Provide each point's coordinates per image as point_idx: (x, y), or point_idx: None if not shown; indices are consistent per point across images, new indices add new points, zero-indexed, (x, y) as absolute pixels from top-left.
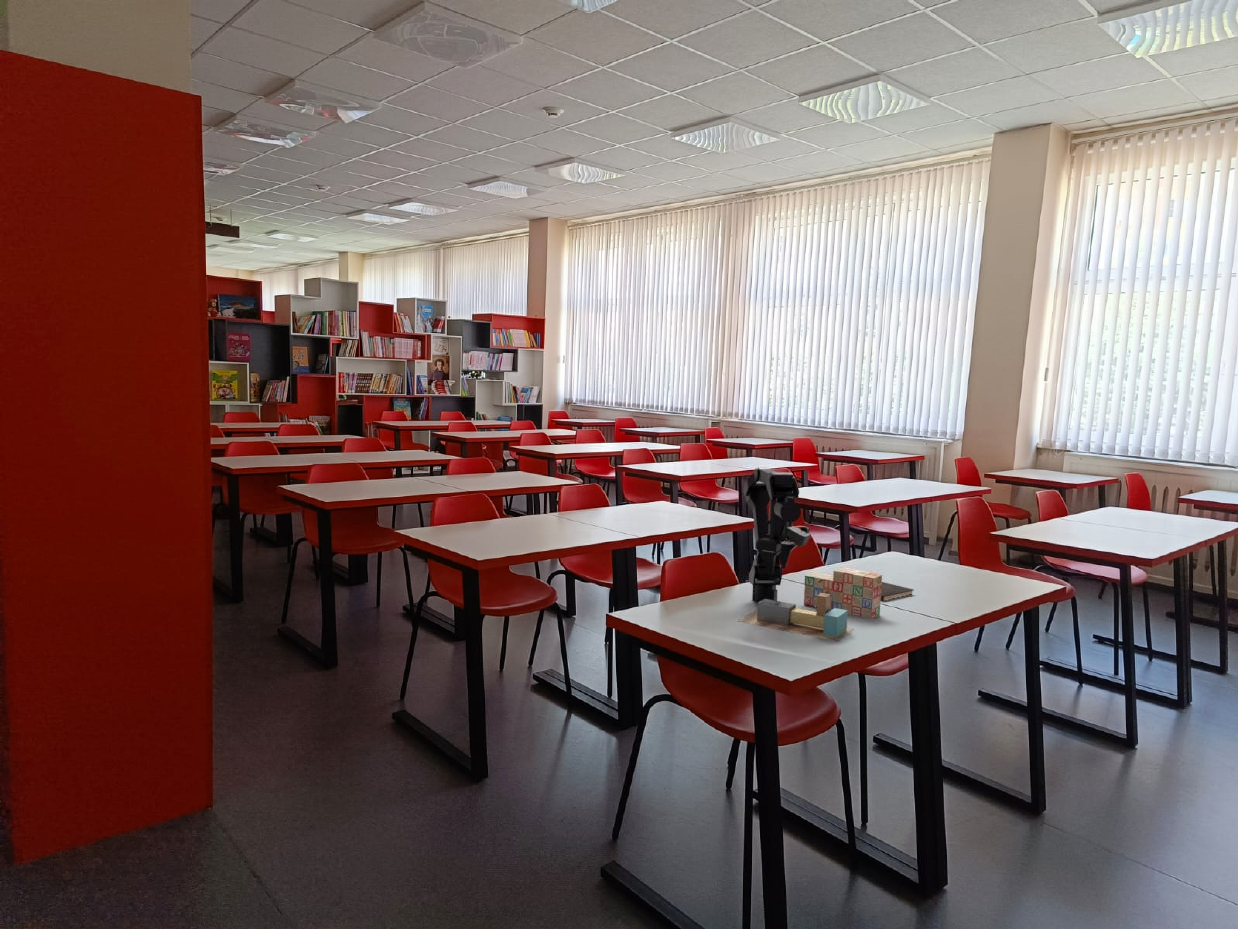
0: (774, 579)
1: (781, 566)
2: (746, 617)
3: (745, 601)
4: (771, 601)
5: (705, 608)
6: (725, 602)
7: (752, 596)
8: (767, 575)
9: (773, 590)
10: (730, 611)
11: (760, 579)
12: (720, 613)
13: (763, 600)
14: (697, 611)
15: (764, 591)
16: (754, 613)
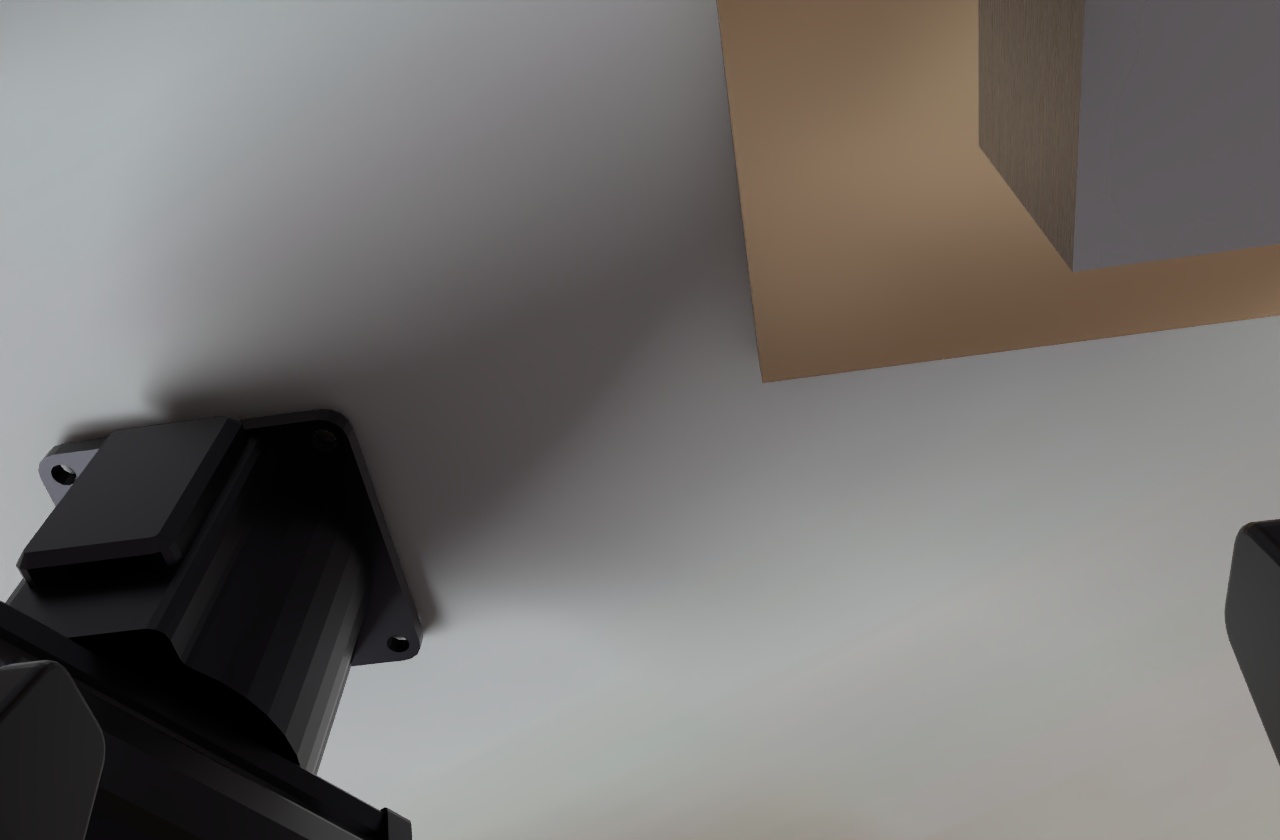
0: (93, 695)
1: (90, 800)
2: (1224, 296)
3: (353, 722)
4: (1224, 50)
5: (969, 822)
6: (585, 817)
7: (335, 709)
8: (245, 831)
9: (136, 569)
10: (887, 622)
11: (350, 833)
12: (1052, 647)
13: (1238, 221)
14: (1139, 814)
15: (285, 637)
16: (932, 332)
